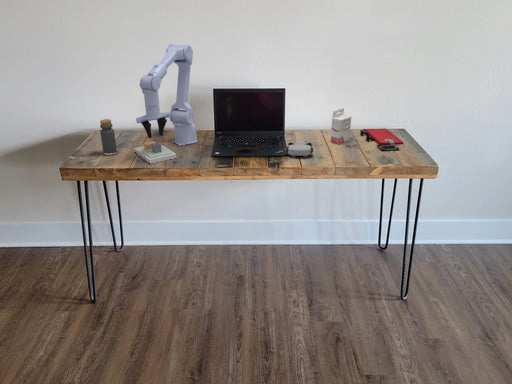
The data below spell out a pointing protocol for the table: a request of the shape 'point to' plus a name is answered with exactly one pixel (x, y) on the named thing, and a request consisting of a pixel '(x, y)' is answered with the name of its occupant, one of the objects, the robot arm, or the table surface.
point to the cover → (157, 151)
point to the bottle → (107, 137)
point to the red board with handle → (382, 138)
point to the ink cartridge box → (340, 127)
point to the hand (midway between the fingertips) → (155, 136)
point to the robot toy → (299, 148)
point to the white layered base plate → (153, 160)
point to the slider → (148, 145)
